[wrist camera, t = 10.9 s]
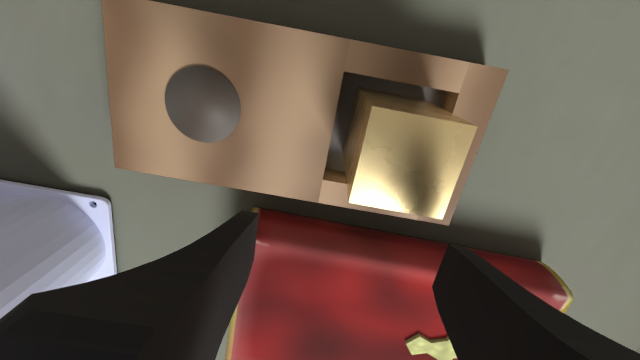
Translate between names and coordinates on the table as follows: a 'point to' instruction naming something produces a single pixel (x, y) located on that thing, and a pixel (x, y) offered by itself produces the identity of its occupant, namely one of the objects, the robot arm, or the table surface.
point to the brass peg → (404, 153)
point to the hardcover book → (353, 293)
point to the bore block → (264, 99)
